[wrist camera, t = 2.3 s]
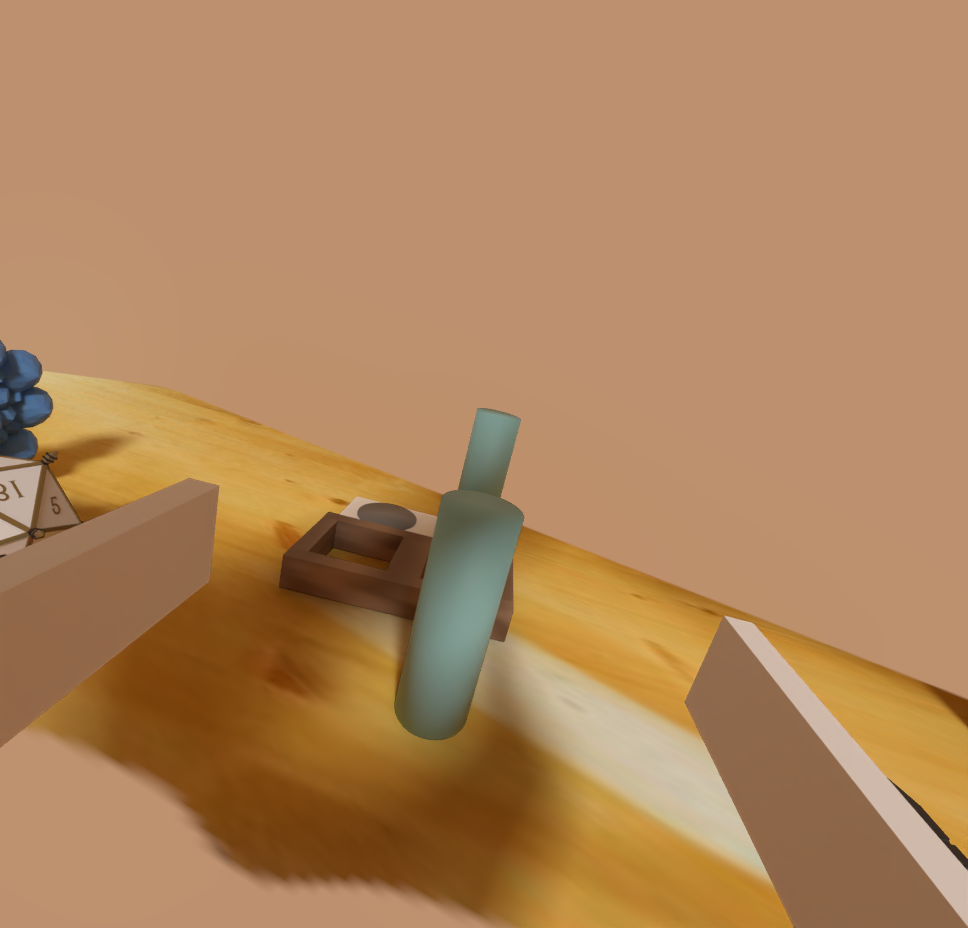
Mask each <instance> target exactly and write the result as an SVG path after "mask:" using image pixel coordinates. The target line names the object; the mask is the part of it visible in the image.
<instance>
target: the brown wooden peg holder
mask: <svg viewBox="0 0 968 928" xmlns="http://www.w3.org/2000/svg"><path fill="white" fill-rule="evenodd" d="M432 538H433V537H429V536H425V535H421V534H417V533H413V532H409V531H405V530H401V529H397V528H393V527H389V526H385V525H381V524H377V523H373V522H369V521H364V520H360V519H356V518H352V517H348V516H344V515H340V514H336V513H332V512H328V513H327V514H326V515H325V516H324V517H323V518H322V519H321V520H320V521H319V522H317V523H316V524H315V525H314V526H313V527H312V528H311V529H310V530H309V531H308V532H307V533H306V534H305V535H304V536H303V537H302V538H301V539H300V540H298V541H297V542H296V543H295V544H294V545H293V546H292V547H291V548H290V549H289V550H288V551H287V552H286V553H285V554H284V555H283V561H282V568H281V576H280V583H279V587H282V588H286V589H290V590H294V591H298V592H302V593H306V594H310V595H314V596H318V597H322V598H326V599H331V600H335V601H339V602H343V603H347V604H351V605H355V606H359V607H363V608H367V609H371V610H376V611H380V612H384V613H388V614H392V615H396V616H400V617H404V618H408V619H412V620H414V617H415V612H416V608H417V604H418V599H419V595H420V590H421V586H422V582H423V577H424V573H425V569H426V564H427V560H428V556H429V551H430V547H431V542H432ZM332 548H337V549H341V550H345V551H349V552H353V553H357V554H361V555H365V556H369V557H373V558H377V559H381V560H386V561H390V564H389V566H388V568H387V569H386V570H383V569H378V568H374V567H370V566H366V565H362V564H358V563H354V562H350V561H346V560H342V559H338V558H334V557H330V556H326V555H327V554H328V553H329V552H330V551H331V549H332ZM512 614H513V559H512V563H511V566H510V570H509V573H508V577H507V580H506V584H505V587H504V591H503V594H502V598H501V601H500V605H499V608H498V612H497V615H496V619H495V622H494V626H493V629H492V633H491V636H490V639H494V640H498V641H502V642H504V641H505V638H506V634H507V631H508V628H509V624H510V621H511V618H512Z"/></svg>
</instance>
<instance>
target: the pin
mask: <svg viewBox="0 0 968 928" xmlns="http://www.w3.org/2000/svg"><path fill="white" fill-rule="evenodd" d="M520 422H521V419H520V418H518V417H516V416H514V415H511V414H508V413H505V412H501V411H497V410H492V409H486V408H478V409H477V412H476V417H475V421H474V425H473V429H472V433H471V438H470V442H469V446H468V450H467V454H466V459H465V463H464V467H463V471H462V475H461V479H460V484H459V488H458V490H470V491H477V492H482V493H487V494H490V495H493V496H496V497H499V498H500V497H501V493H502V489H503V485H504V482H505V478H506V474H507V470H508V467H509V463H510V459H511V455H512V452H513V448H514V444H515V440H516V436H517V433H518V429H519V425H520Z"/></svg>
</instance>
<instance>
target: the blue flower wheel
mask: <svg viewBox="0 0 968 928" xmlns="http://www.w3.org/2000/svg"><path fill="white" fill-rule="evenodd" d="M41 375H42V365H41V364H40V362H39V360H38V359H37V357H36V356H34V355H32V354H30V353H28V352H27V351H24V350H9V351H7V352H6V347H5V346H4V344H3V343H2V342H1V340H0V455H1V456H8V457H16V458H23V459H30V460H31V459H32V458H34V457H35V455H36V453H37V450H38V442H37V438H36V437H35V436H34V434H33V433H32V432H31V431H29V430H27V429H24V428H28V427H34V426H36V425H38V424H41V423H43V422H44V421H45V420H46V419H47V418H49V417H50V415H51V413H52V410H53V402H52V399H51V397H50V396H49V394H48V393H47V392H46V391H44V390H42V389H40V388H38V387H34V386H35V385H36V384H37V383H38V382H39V380H40V378H41Z"/></svg>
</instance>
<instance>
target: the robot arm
mask: <svg viewBox="0 0 968 928" xmlns="http://www.w3.org/2000/svg"><path fill="white" fill-rule="evenodd" d="M218 493H219V486H218V485H215V484H211V483H207V482H203V481H199V480H195V479H191V478H188V479H186V480H184V481H181V482H179V483H176V484H174V485H172V486H169V487H167V488H165V489H162V490H160V491H158V492H155V493H153V494H150V495H148V496H146V497H143V498H141V499H139V500H136V501H134V502H131V503H129V504H127V505H124V506H122V507H120V508H117V509H115V510H113V511H110V512H108V513H105V514H103V515H101V516H98V517H96V518H94V519H91V520H89V521H87V522H84V523H82V524H79V525H77V526H75V527H72V528H70V529H68V530H65V531H63V532H61V533H58V534H56V535H53V536H51V537H49V538H46V539H44V540H42V541H39V542H37V543H34V544H32V545H30V546H27V547H25V548H23V549H20V550H18V551H16V552H13V553H11V554H8V555H6V554H3V555H0V747H2V746H3V745H4V744H5V743H7V742H8V741H9V740H10V739H12V738H13V737H14V736H15V735H17V734H18V733H19V732H20V731H22V730H23V729H24V728H25V727H27V726H28V725H29V724H30V723H32V722H33V721H34V720H35V719H37V718H38V717H39V716H41V715H42V714H43V713H44V712H46V711H47V710H48V709H49V708H51V707H52V706H53V705H54V704H56V703H57V702H58V701H59V700H61V699H62V698H63V697H64V696H66V695H67V694H68V693H69V692H71V691H72V690H73V689H75V688H76V687H77V686H78V685H80V684H81V683H82V682H83V681H85V680H86V679H87V678H88V677H90V676H91V675H92V674H93V673H95V672H96V671H97V670H98V669H100V668H101V667H102V666H103V665H105V664H106V663H107V662H108V661H110V660H111V659H112V658H114V657H115V656H116V655H117V654H119V653H120V652H121V651H122V650H124V649H125V648H126V647H127V646H129V645H130V644H131V643H132V642H134V641H135V640H136V639H137V638H139V637H140V636H141V635H142V634H144V633H145V632H146V631H148V630H149V629H150V628H151V627H153V626H154V625H155V624H156V623H158V622H159V621H160V620H161V619H163V618H164V617H165V616H166V615H168V614H169V613H170V612H171V611H173V610H174V609H175V608H176V607H178V606H179V605H180V604H181V603H183V602H184V601H185V600H187V599H188V598H189V597H190V596H192V595H193V594H194V593H195V592H197V591H198V590H199V589H200V588H202V587H203V586H204V585H205V584H207V583H208V582H209V581H210V573H211V563H212V553H213V543H214V533H215V523H216V513H217V503H218ZM685 704H686V706H687V708H688V710H689V712H690V714H691V716H692V718H693V720H694V722H695V724H696V727H697V729H698V731H699V733H700V735H701V737H702V739H703V741H704V743H705V745H706V747H707V749H708V751H709V753H710V755H711V757H712V759H713V762H714V764H715V766H716V768H717V770H718V772H719V774H720V776H721V778H722V780H723V782H724V784H725V786H726V788H727V790H728V792H729V794H730V796H731V799H732V801H733V803H734V805H735V807H736V809H737V811H738V813H739V815H740V817H741V819H742V821H743V823H744V825H745V827H746V829H747V831H748V834H749V836H750V838H751V840H752V842H753V844H754V846H755V848H756V850H757V852H758V854H759V856H760V858H761V860H762V862H763V864H764V866H765V869H766V871H767V873H768V875H769V877H770V879H771V881H772V883H773V885H774V887H775V889H776V891H777V893H778V895H779V897H780V899H781V901H782V904H783V906H784V908H785V910H786V912H787V914H788V916H789V918H790V920H791V922H792V924H793V926H794V928H968V859H967V858H966V857H965V856H964V855H963V854H962V852H961V851H960V850H959V849H958V848H957V847H956V846H955V845H951V844H950V842H949V838H948V837H947V835H946V834H945V833H944V832H943V831H942V830H941V829H940V828H939V826H938V825H937V824H936V823H935V822H934V821H933V820H932V819H931V817H930V816H929V815H928V814H927V813H926V812H925V811H924V810H923V808H922V807H921V806H920V805H919V804H917V803H916V802H915V801H914V800H913V799H912V798H911V797H909V796H908V795H907V794H906V793H905V792H904V791H902V790H901V789H900V788H899V787H898V786H897V785H895V784H894V783H893V782H892V781H891V780H890V779H888V778H887V777H886V776H885V775H884V774H883V773H882V771H881V770H880V769H879V768H878V767H877V766H876V764H875V763H874V762H873V761H872V760H871V759H870V758H869V756H868V755H867V754H866V753H865V752H864V751H863V749H862V748H861V747H860V746H859V745H858V744H857V743H856V741H855V740H854V739H853V738H852V737H851V736H850V734H849V733H848V732H847V731H846V730H845V729H844V728H843V726H842V725H841V724H840V723H839V722H838V721H837V719H836V718H835V717H834V716H833V715H832V714H831V713H830V711H829V710H828V709H827V708H826V707H825V706H824V704H823V703H822V702H821V701H820V700H819V699H818V698H817V696H816V695H815V694H814V693H813V692H812V691H811V689H810V688H809V687H808V686H807V685H806V684H805V683H804V681H803V680H802V679H801V678H800V677H799V676H798V674H797V673H796V672H795V671H794V670H793V669H792V668H791V666H790V665H789V664H788V663H787V662H786V661H785V659H784V658H783V657H782V656H781V655H780V654H779V653H778V651H777V650H776V649H775V648H774V647H773V646H772V644H771V643H770V642H769V641H768V640H767V639H766V638H765V636H764V635H763V634H762V633H761V632H760V631H759V629H758V628H757V627H756V626H755V625H754V624H753V623H751V622H747V621H743V620H739V619H735V618H731V617H727V616H724V617H723V619H722V621H721V623H720V625H719V628H718V630H717V632H716V634H715V636H714V639H713V641H712V643H711V645H710V647H709V650H708V652H707V654H706V656H705V658H704V661H703V663H702V665H701V667H700V669H699V672H698V674H697V676H696V678H695V680H694V683H693V685H692V687H691V689H690V691H689V694H688V696H687V698H686V700H685Z"/></svg>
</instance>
